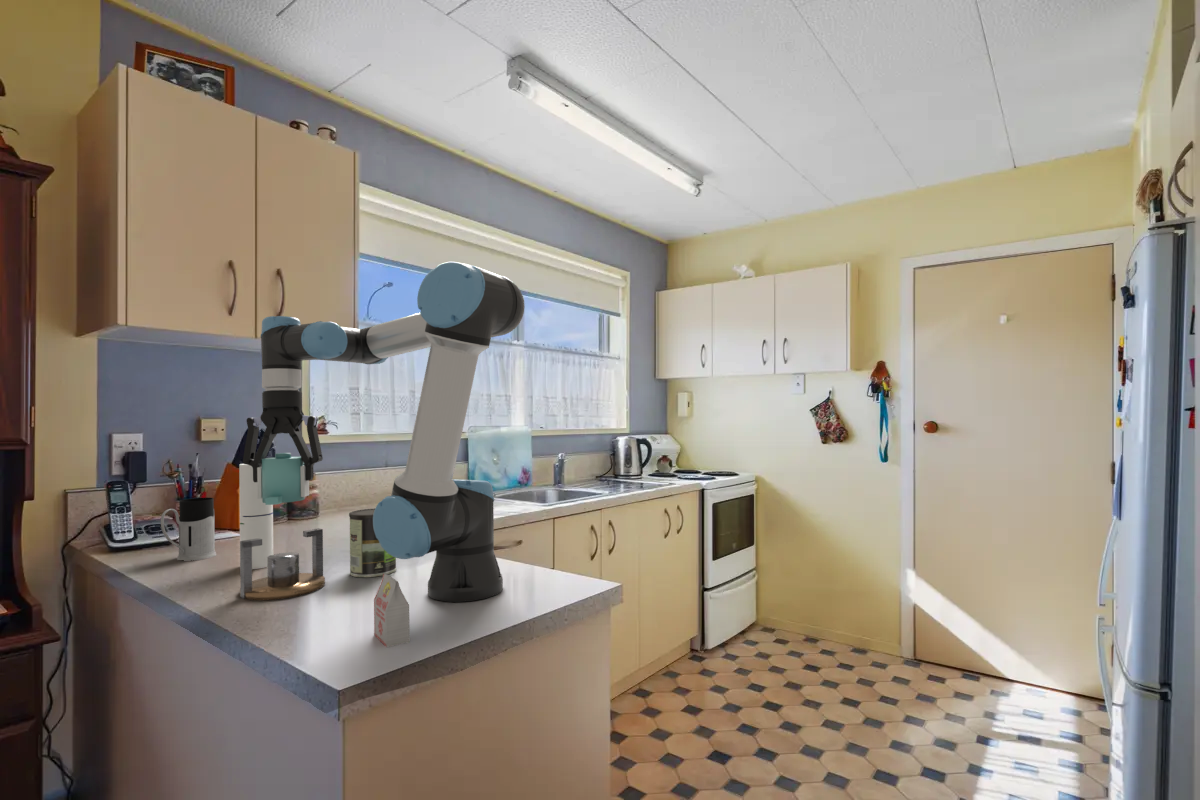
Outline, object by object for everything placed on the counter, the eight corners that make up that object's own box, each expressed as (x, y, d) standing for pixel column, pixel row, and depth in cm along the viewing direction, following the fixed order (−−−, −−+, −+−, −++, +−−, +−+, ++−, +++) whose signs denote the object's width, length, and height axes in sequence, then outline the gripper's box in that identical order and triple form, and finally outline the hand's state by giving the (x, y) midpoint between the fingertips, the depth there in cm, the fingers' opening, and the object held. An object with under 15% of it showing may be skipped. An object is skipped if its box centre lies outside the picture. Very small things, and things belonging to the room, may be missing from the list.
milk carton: (396, 630, 105) (395, 571, 105) (409, 641, 99) (408, 579, 99) (374, 635, 103) (373, 575, 103) (386, 647, 97) (385, 583, 97)
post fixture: (339, 586, 131) (339, 532, 132) (259, 605, 119) (258, 546, 119) (304, 574, 142) (303, 524, 142) (226, 591, 129) (226, 536, 129)
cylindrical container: (259, 569, 146) (258, 464, 147) (232, 569, 148) (232, 464, 148) (279, 562, 153) (279, 462, 154) (254, 561, 155) (253, 462, 155)
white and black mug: (224, 553, 164) (224, 497, 164) (175, 567, 150) (175, 505, 150) (198, 552, 166) (197, 496, 166) (147, 565, 152) (147, 504, 153)
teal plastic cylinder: (313, 495, 137) (313, 451, 137) (292, 503, 125) (291, 454, 125) (276, 497, 136) (275, 452, 136) (251, 505, 124) (250, 455, 124)
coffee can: (404, 567, 147) (404, 508, 147) (381, 578, 137) (380, 515, 137) (366, 565, 149) (365, 507, 149) (340, 576, 139) (339, 514, 139)
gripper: (338, 389, 136) (340, 492, 135) (239, 391, 134) (240, 496, 133) (327, 388, 128) (328, 497, 128) (221, 390, 126) (223, 501, 126)
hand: (283, 496), depth 130 cm, fingers closed on teal plastic cylinder, 8 cm apart
